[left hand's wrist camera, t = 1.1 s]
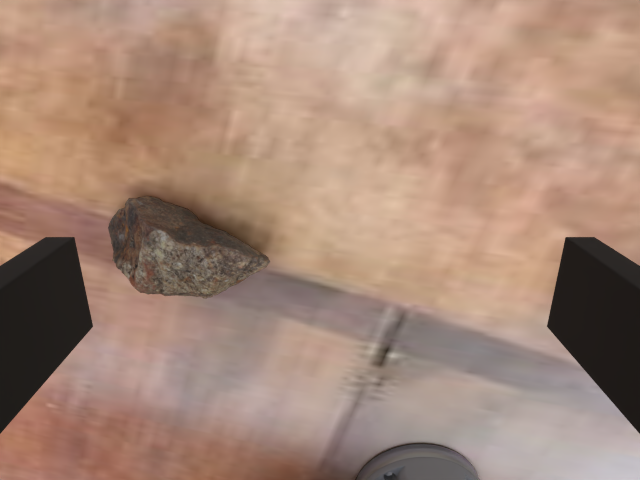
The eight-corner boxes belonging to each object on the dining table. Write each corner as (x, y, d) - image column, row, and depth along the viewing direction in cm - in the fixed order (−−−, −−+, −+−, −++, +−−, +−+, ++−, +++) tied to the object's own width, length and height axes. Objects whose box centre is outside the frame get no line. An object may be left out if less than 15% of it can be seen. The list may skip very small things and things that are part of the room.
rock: (140, 160, 41) (104, 249, 44) (88, 180, 33) (48, 287, 36) (282, 236, 43) (237, 317, 46) (265, 273, 34) (212, 368, 38)
